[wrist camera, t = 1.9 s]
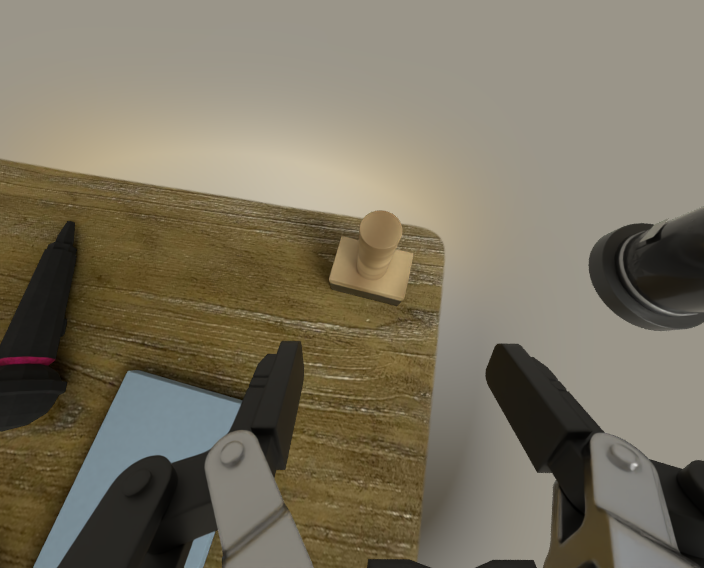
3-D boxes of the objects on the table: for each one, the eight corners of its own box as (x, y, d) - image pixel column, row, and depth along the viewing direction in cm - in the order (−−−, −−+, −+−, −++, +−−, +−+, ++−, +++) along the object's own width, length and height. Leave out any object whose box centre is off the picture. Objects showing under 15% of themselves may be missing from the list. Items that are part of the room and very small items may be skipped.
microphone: (87, 243, 31) (33, 429, 23) (15, 216, 26) (-86, 444, 18) (119, 228, 29) (73, 420, 22) (51, 197, 24) (-41, 434, 16)
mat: (257, 404, 23) (252, 407, 22) (157, 704, 18) (144, 728, 17) (138, 369, 24) (127, 370, 23) (7, 647, 19) (-16, 666, 17)
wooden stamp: (405, 266, 27) (439, 212, 17) (397, 306, 26) (427, 273, 16) (342, 250, 27) (338, 188, 17) (331, 289, 26) (319, 247, 16)
